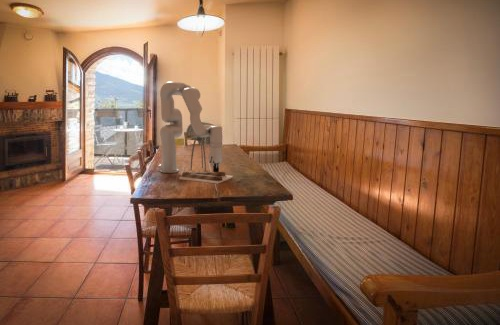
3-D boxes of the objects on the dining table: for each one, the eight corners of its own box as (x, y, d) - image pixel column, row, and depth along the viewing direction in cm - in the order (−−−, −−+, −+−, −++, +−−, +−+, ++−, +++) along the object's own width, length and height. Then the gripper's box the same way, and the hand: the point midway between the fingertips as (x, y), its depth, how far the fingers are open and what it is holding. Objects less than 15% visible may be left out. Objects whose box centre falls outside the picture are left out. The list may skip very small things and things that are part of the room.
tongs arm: (190, 176, 232) (190, 172, 231) (190, 175, 235) (190, 171, 234) (225, 175, 234) (225, 172, 234) (225, 174, 237) (225, 171, 236)
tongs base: (182, 176, 230) (182, 172, 229) (185, 175, 233) (185, 171, 232) (219, 181, 219) (219, 176, 219) (222, 180, 222) (222, 175, 221)
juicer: (205, 171, 255) (205, 127, 250) (190, 170, 257) (190, 127, 252) (210, 168, 265) (210, 126, 260) (195, 167, 267) (194, 126, 262)
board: (179, 179, 228) (179, 177, 228) (196, 173, 246) (196, 172, 246) (217, 183, 217) (217, 182, 217) (233, 177, 235) (233, 175, 235)
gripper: (216, 143, 244) (216, 170, 247) (204, 146, 231) (205, 174, 234) (226, 144, 241) (226, 172, 244) (215, 146, 228) (215, 176, 231)
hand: (216, 173), depth 239 cm, fingers closed
